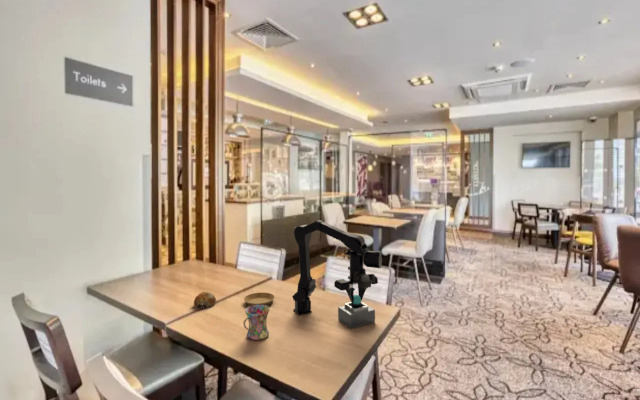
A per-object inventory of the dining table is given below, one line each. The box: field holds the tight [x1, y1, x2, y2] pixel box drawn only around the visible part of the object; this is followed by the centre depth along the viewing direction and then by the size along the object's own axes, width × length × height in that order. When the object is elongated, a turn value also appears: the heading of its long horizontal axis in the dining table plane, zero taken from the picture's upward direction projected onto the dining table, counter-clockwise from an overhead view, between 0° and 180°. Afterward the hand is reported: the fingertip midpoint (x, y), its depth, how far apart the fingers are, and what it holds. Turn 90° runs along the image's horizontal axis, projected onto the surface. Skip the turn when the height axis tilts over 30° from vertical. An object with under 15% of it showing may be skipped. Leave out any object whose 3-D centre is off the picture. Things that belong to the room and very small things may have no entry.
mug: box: [242, 305, 270, 341], centre depth 125 cm, size 12×9×11 cm
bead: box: [353, 294, 362, 305], centre depth 139 cm, size 4×4×4 cm
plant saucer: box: [243, 292, 275, 307], centre depth 160 cm, size 15×15×3 cm
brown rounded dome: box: [193, 291, 217, 309], centre depth 158 cm, size 10×10×8 cm
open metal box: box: [337, 301, 376, 330], centre depth 139 cm, size 12×10×7 cm
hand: (356, 301), depth 139 cm, fingers closed on bead, 4 cm apart
